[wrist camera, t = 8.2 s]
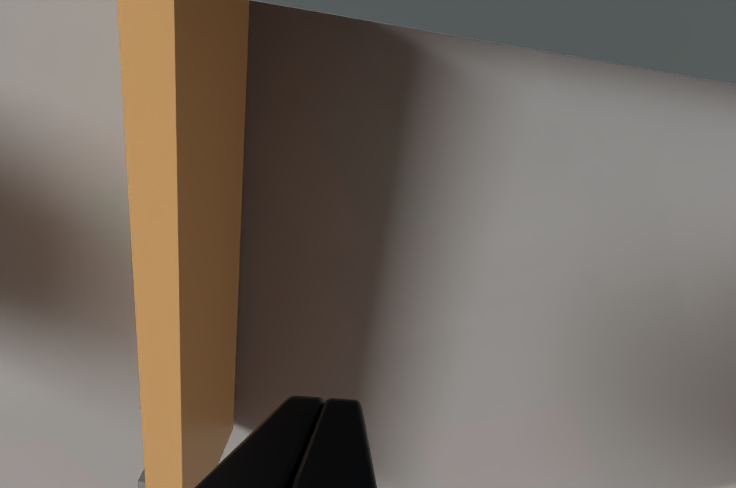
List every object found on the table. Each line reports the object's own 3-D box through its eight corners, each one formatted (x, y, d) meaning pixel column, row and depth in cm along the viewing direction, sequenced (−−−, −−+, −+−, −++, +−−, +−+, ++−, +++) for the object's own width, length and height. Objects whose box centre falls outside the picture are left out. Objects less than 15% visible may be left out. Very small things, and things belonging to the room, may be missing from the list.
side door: (233, 428, 23) (183, 548, 19) (186, 418, 23) (128, 537, 20) (251, -46, 16) (173, -3, 12) (181, -58, 16) (81, -19, 12)
